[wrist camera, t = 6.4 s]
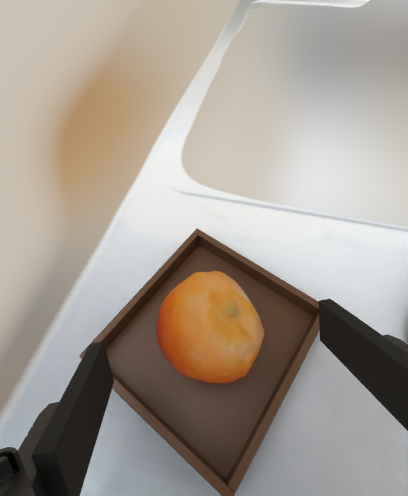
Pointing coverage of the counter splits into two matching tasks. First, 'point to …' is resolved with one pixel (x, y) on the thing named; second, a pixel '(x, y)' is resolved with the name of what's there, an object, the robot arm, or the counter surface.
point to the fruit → (209, 328)
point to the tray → (204, 393)
